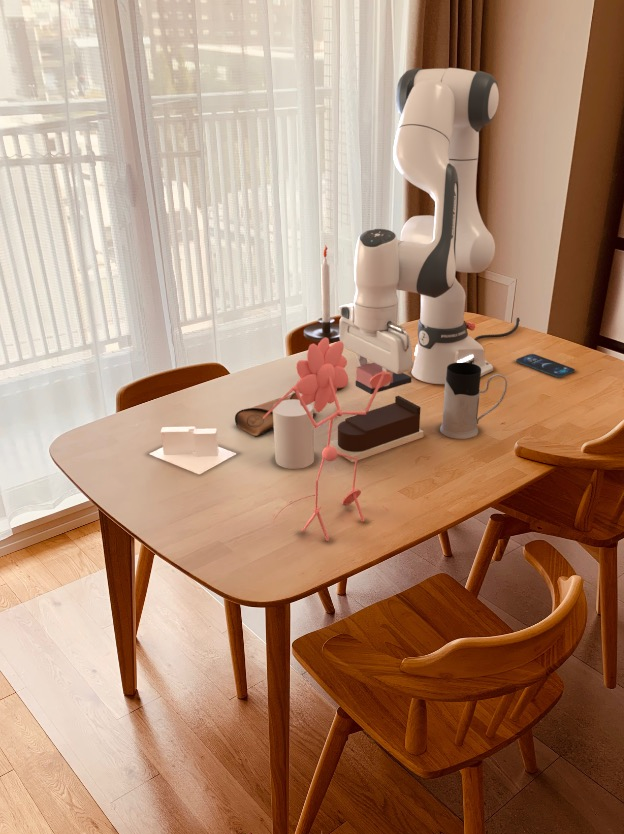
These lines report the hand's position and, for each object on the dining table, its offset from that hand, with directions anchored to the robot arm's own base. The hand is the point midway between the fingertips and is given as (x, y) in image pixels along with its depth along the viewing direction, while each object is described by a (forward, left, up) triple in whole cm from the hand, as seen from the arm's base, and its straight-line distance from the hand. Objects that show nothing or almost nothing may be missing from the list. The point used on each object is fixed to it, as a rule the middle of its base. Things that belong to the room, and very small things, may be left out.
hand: (374, 379), depth 168 cm
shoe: (-1, 0, -15) cm, 15 cm away
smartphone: (-65, -8, -15) cm, 67 cm away
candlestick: (-10, -32, -15) cm, 37 cm away
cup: (+18, -4, -15) cm, 24 cm away
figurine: (+26, +18, -15) cm, 35 cm away
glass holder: (-22, +8, -15) cm, 28 cm away
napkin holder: (+34, -19, -15) cm, 42 cm away
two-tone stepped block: (-3, 0, -2) cm, 3 cm away
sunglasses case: (+11, -22, -15) cm, 29 cm away
